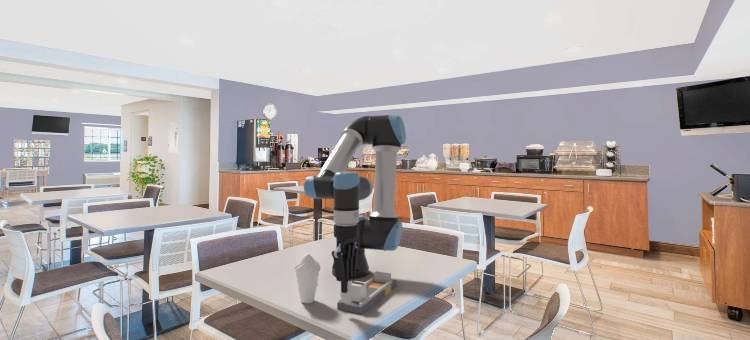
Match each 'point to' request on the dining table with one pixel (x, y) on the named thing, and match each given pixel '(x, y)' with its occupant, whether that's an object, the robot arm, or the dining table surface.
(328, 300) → the dining table surface
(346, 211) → the robot arm
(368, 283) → the slider track
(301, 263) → the soft serve ice cream cone
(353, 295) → the fader tab
